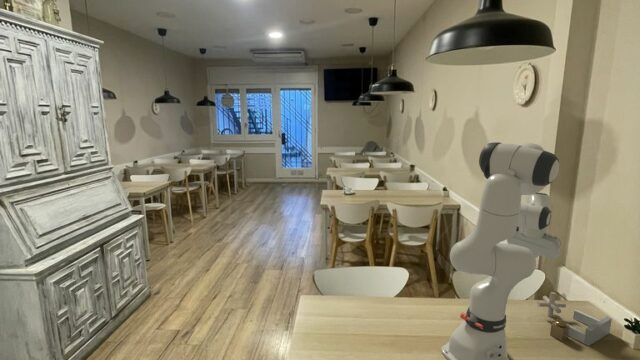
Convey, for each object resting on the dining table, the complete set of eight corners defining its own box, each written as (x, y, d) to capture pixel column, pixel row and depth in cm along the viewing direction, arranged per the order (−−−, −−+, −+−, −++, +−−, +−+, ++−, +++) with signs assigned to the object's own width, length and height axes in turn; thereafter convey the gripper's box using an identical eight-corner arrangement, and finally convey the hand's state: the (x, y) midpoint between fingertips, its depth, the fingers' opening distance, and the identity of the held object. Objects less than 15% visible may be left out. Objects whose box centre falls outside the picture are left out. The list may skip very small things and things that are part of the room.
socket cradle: (588, 346, 121) (591, 330, 120) (554, 328, 131) (555, 314, 130) (609, 333, 128) (611, 318, 127) (575, 317, 138) (577, 303, 137)
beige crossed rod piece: (556, 309, 144) (558, 287, 142) (570, 323, 134) (574, 300, 132) (530, 308, 145) (533, 286, 143) (543, 322, 135) (546, 299, 133)
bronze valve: (561, 341, 124) (563, 327, 123) (549, 335, 127) (551, 321, 126) (567, 338, 126) (569, 323, 125) (556, 332, 129) (557, 318, 128)
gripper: (565, 236, 134) (561, 269, 137) (515, 222, 152) (512, 251, 154) (556, 239, 131) (552, 273, 134) (506, 224, 149) (503, 254, 152)
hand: (530, 261), depth 144 cm, fingers closed
